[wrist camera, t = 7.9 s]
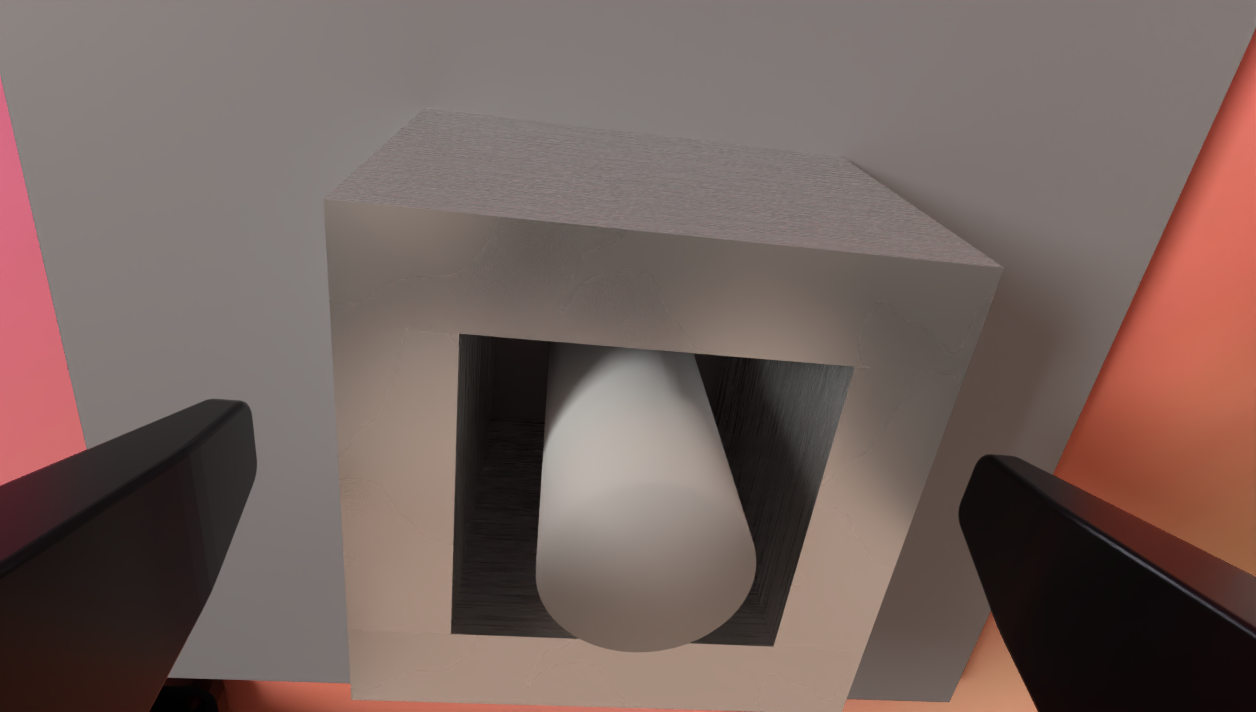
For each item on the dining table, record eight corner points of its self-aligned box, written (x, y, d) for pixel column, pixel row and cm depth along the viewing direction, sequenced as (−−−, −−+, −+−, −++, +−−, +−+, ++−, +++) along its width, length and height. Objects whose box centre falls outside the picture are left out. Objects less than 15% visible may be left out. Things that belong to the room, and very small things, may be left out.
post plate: (931, 667, 19) (1109, 1013, 13) (162, 638, 17) (-83, 1036, 10) (1311, -222, 11) (2323, -491, 5) (-69, -485, 9) (-1661, -1621, 3)
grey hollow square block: (759, 488, 15) (840, 714, 10) (422, 467, 14) (351, 699, 9) (841, 157, 12) (1004, 267, 7) (423, 107, 11) (323, 198, 7)
